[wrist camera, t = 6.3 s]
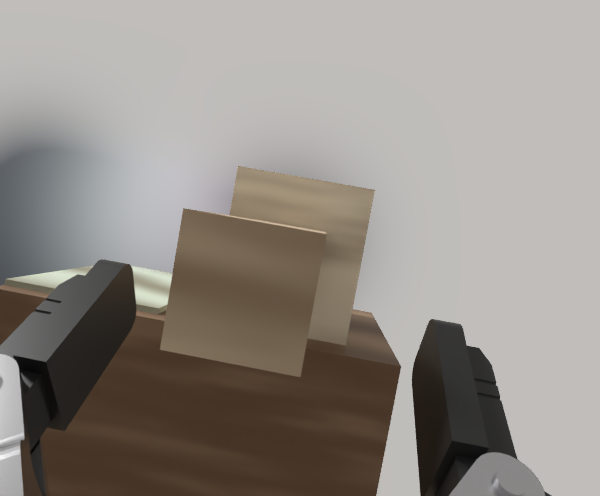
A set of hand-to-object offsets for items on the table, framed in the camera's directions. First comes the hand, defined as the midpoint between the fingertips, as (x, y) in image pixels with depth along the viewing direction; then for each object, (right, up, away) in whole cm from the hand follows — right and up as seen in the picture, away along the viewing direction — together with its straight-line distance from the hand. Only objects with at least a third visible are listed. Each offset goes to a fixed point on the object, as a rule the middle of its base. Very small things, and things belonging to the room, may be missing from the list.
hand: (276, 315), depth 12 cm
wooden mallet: (-1, -3, +9) cm, 10 cm away
